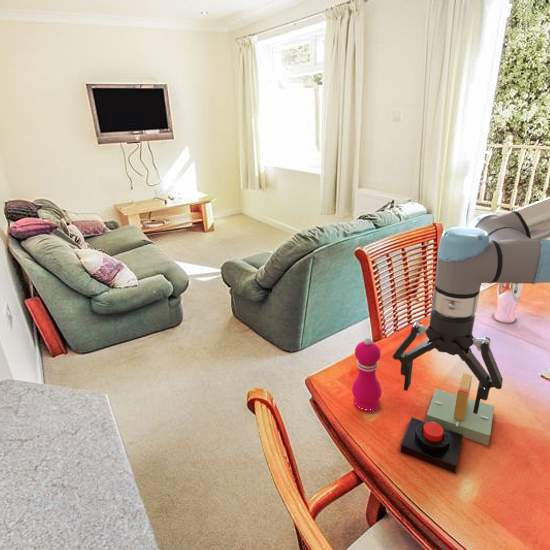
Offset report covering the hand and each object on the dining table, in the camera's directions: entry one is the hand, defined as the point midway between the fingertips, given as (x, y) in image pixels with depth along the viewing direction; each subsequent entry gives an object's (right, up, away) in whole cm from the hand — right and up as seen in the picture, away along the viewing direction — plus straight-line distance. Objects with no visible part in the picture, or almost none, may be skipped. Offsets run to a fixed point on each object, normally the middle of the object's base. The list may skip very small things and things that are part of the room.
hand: (439, 397), depth 79 cm
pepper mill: (-11, -7, +17) cm, 22 cm away
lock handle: (+9, -6, +9) cm, 14 cm away
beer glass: (+43, +11, +48) cm, 65 cm away
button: (-1, -9, +2) cm, 9 cm away
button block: (0, -12, +4) cm, 13 cm away
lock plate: (+9, -8, +10) cm, 16 cm away
